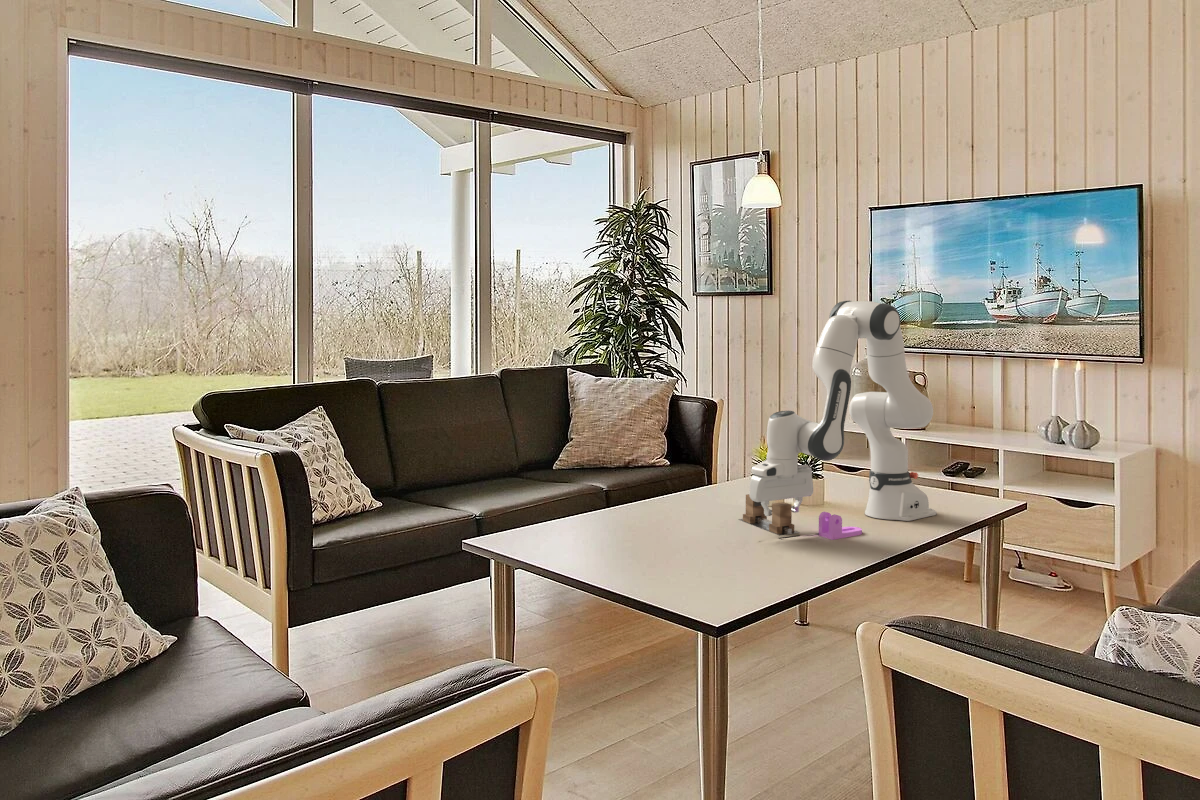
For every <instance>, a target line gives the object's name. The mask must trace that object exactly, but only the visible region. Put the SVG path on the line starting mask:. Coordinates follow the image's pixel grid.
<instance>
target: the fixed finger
mask: <svg viewBox="0 0 1200 800" xmlns="http://www.w3.org/2000/svg"><path fill="white" fill-rule="evenodd" d="M755 516H758V517H761V518H764V519H767V518H768V516H765V514H764V508H763V507H762V505H761V502H755V501H753V500H751V498H750V495H749V494H745V513H743V514H742V519H743V521H745V522H748V523H755ZM767 520H768V519H767ZM743 521H742V522H743ZM745 522H744V523H745ZM748 523H747V524H748Z"/></svg>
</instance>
